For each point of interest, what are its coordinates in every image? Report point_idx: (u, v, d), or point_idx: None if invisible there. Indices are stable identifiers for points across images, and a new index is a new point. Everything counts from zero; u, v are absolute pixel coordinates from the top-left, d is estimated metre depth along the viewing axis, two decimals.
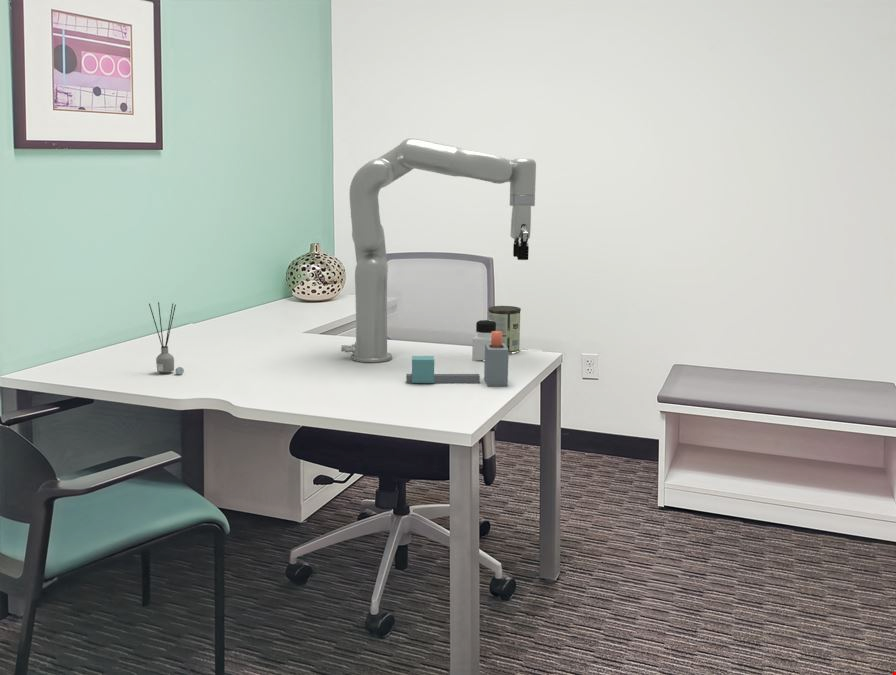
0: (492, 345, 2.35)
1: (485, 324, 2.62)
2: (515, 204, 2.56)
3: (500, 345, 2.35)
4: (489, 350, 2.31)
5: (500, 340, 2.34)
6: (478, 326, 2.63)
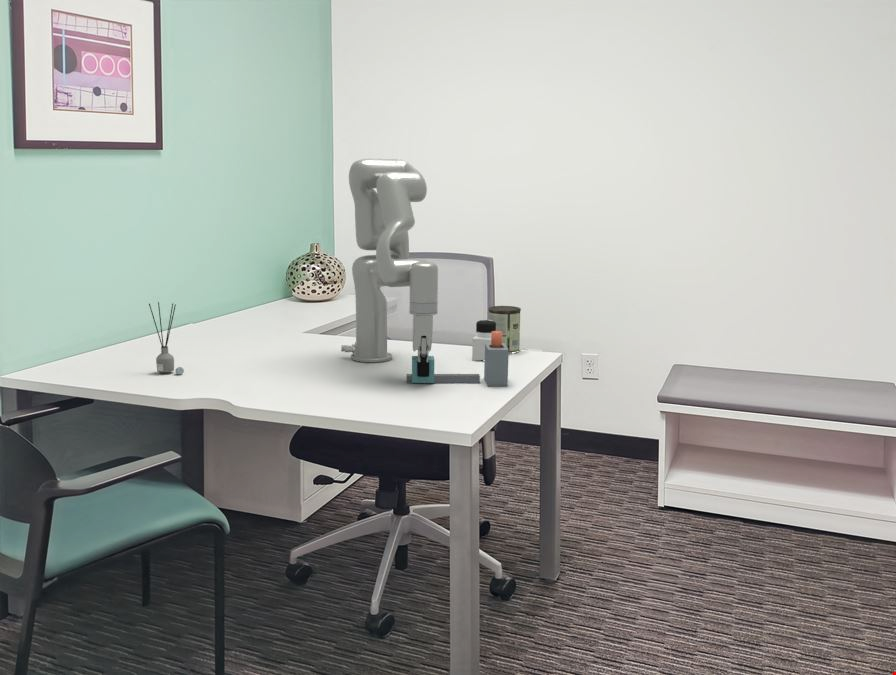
0: (492, 345, 2.35)
1: (485, 324, 2.62)
2: (414, 313, 2.30)
3: (500, 345, 2.35)
4: (489, 350, 2.31)
5: (500, 340, 2.34)
6: (478, 326, 2.63)
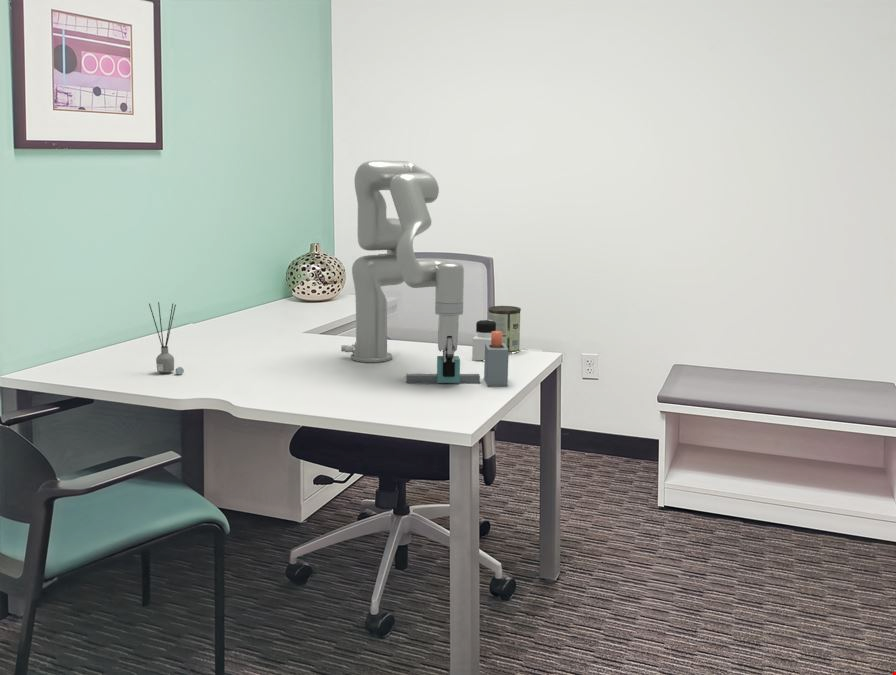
0: (492, 345, 2.35)
1: (485, 324, 2.62)
2: (440, 313, 2.30)
3: (500, 345, 2.35)
4: (489, 350, 2.31)
5: (500, 340, 2.34)
6: (478, 326, 2.63)
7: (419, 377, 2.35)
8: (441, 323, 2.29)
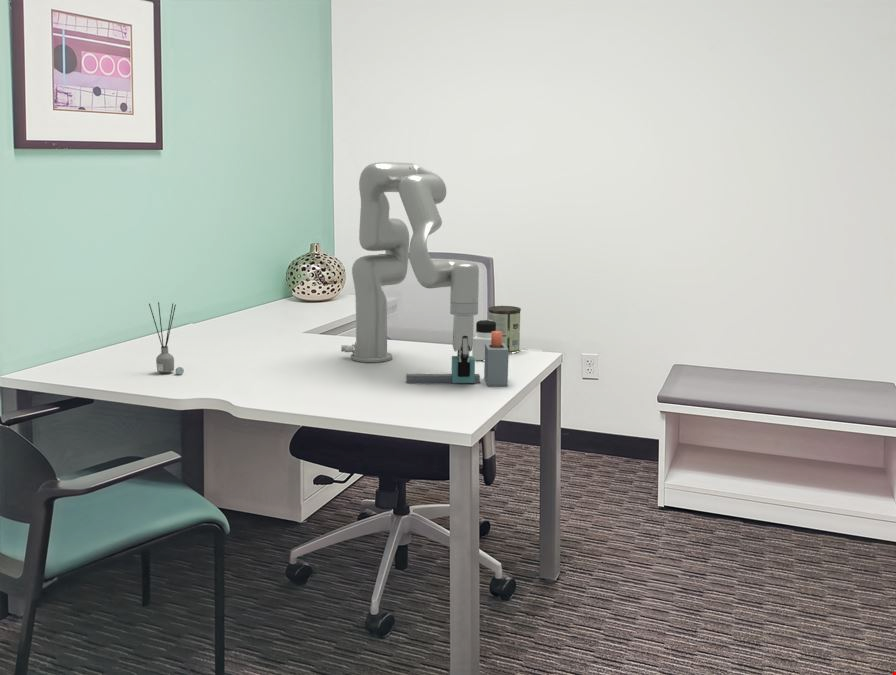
0: (492, 345, 2.35)
1: (485, 324, 2.62)
2: (455, 313, 2.30)
3: (500, 345, 2.35)
4: (489, 350, 2.31)
5: (500, 340, 2.34)
6: (478, 326, 2.63)
7: (419, 377, 2.35)
8: (456, 323, 2.29)
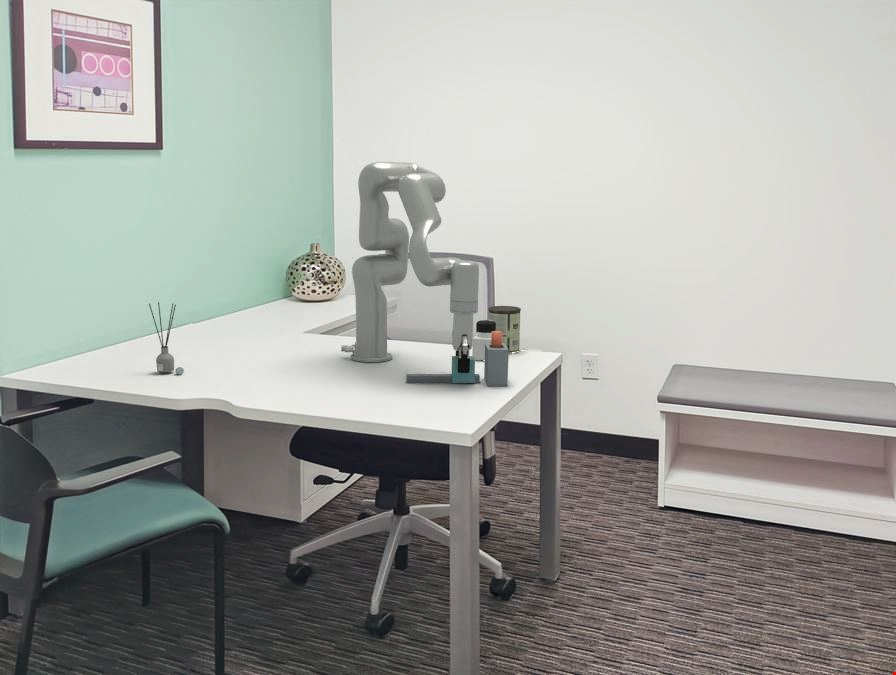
0: (492, 345, 2.35)
1: (485, 324, 2.62)
2: (455, 311, 2.30)
3: (500, 345, 2.35)
4: (489, 350, 2.31)
5: (500, 340, 2.34)
6: (478, 326, 2.63)
7: (419, 377, 2.35)
8: (456, 321, 2.30)
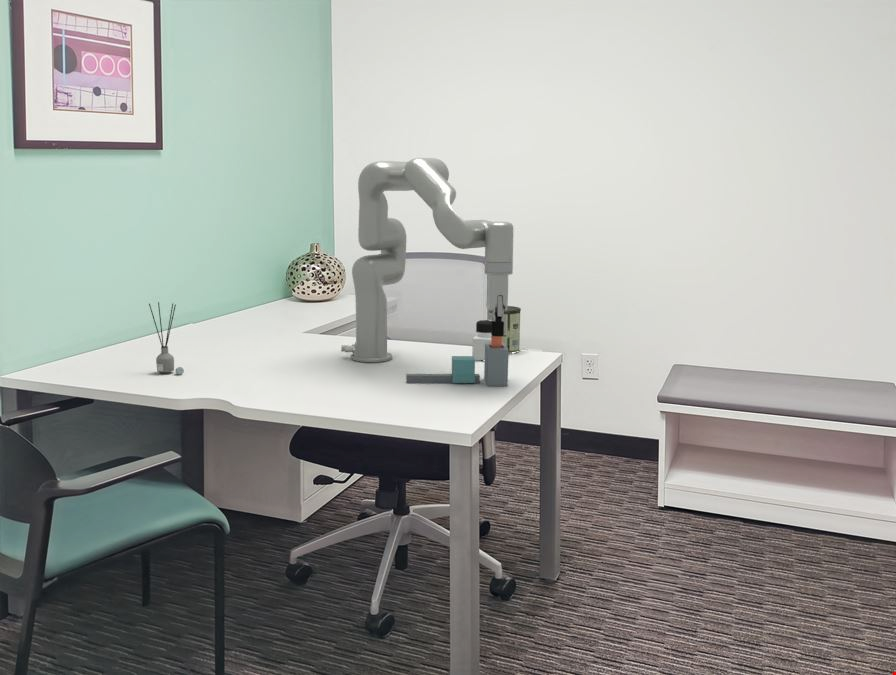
0: None
1: (485, 324, 2.62)
2: (490, 273, 2.29)
3: None
4: (489, 350, 2.31)
5: (500, 344, 2.34)
6: (478, 326, 2.63)
7: (419, 377, 2.35)
8: (491, 282, 2.28)
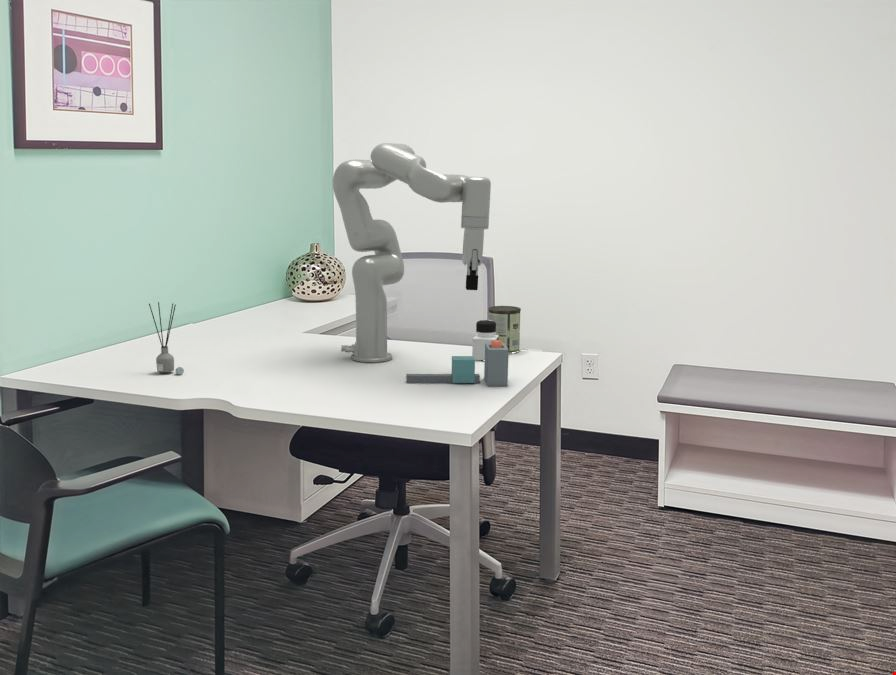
0: None
1: (485, 324, 2.62)
2: (466, 227, 2.32)
3: None
4: (489, 350, 2.31)
5: None
6: (478, 326, 2.63)
7: (419, 377, 2.35)
8: (467, 236, 2.31)
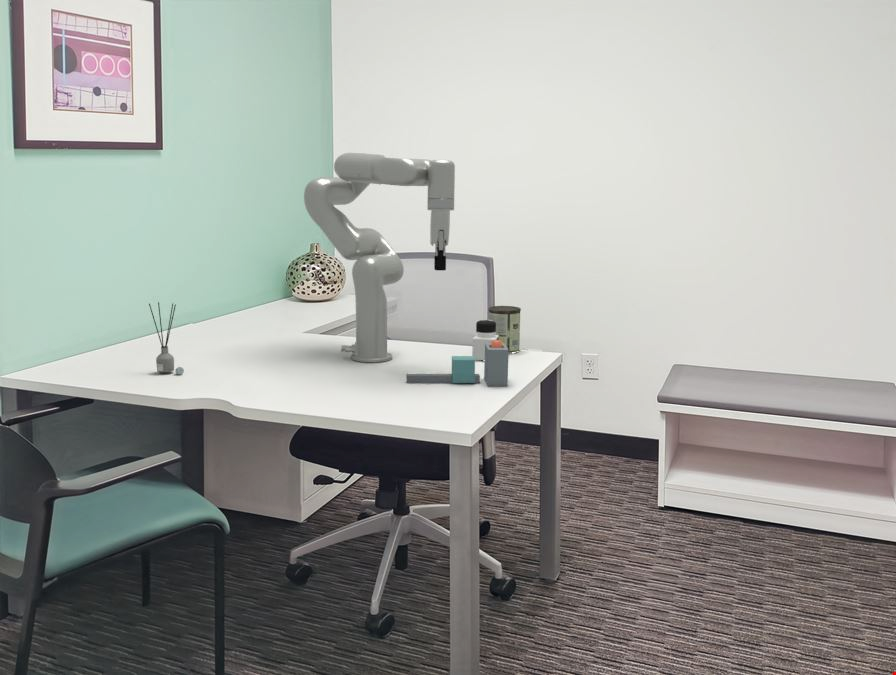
0: None
1: (485, 324, 2.62)
2: (432, 208, 2.40)
3: None
4: (489, 350, 2.31)
5: None
6: (478, 326, 2.63)
7: (419, 377, 2.35)
8: (433, 217, 2.39)
